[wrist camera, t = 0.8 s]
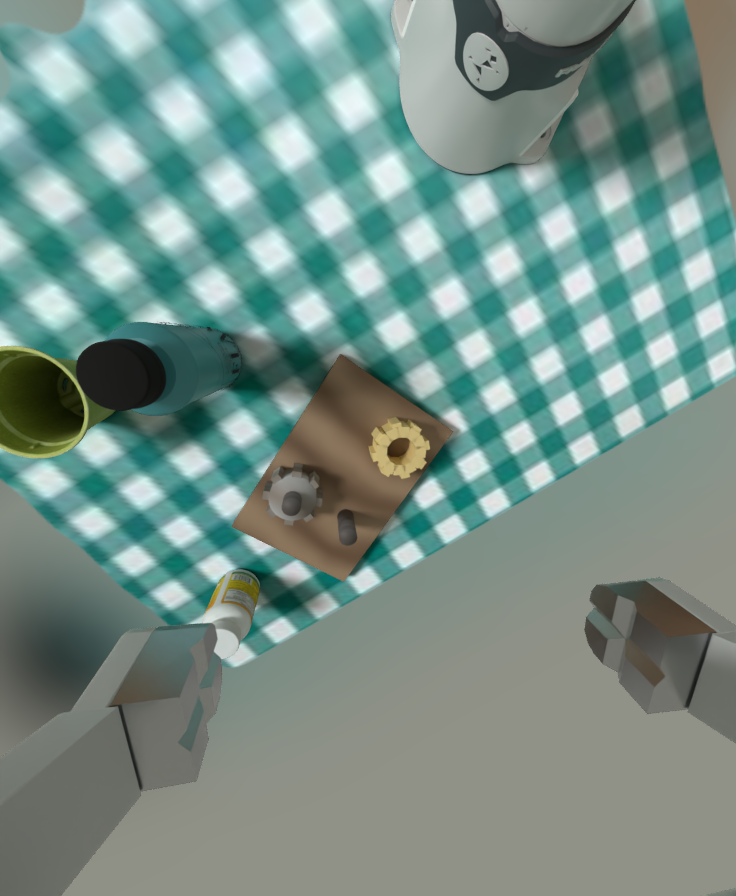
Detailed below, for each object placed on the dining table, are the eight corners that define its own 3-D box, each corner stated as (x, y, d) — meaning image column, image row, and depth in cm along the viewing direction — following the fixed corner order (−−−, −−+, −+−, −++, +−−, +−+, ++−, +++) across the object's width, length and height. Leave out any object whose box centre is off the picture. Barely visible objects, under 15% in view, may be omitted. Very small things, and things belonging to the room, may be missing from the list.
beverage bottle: (256, 376, 40) (197, 410, 21) (199, 397, 40) (89, 451, 21) (229, 317, 38) (137, 295, 19) (169, 339, 38) (17, 340, 19)
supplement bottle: (250, 562, 46) (233, 616, 37) (267, 594, 48) (254, 653, 39) (210, 576, 46) (183, 634, 37) (228, 608, 48) (207, 671, 39)
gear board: (340, 354, 40) (343, 356, 34) (448, 428, 44) (469, 442, 38) (234, 520, 44) (220, 549, 38) (343, 574, 49) (346, 608, 42)
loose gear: (389, 406, 41) (394, 411, 38) (433, 435, 43) (441, 442, 40) (358, 452, 42) (360, 460, 39) (402, 479, 44) (407, 489, 41)
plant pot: (36, 421, 38) (-42, 443, 30) (43, 332, 36) (-39, 330, 28) (131, 443, 40) (82, 469, 32) (143, 360, 38) (94, 365, 30)
